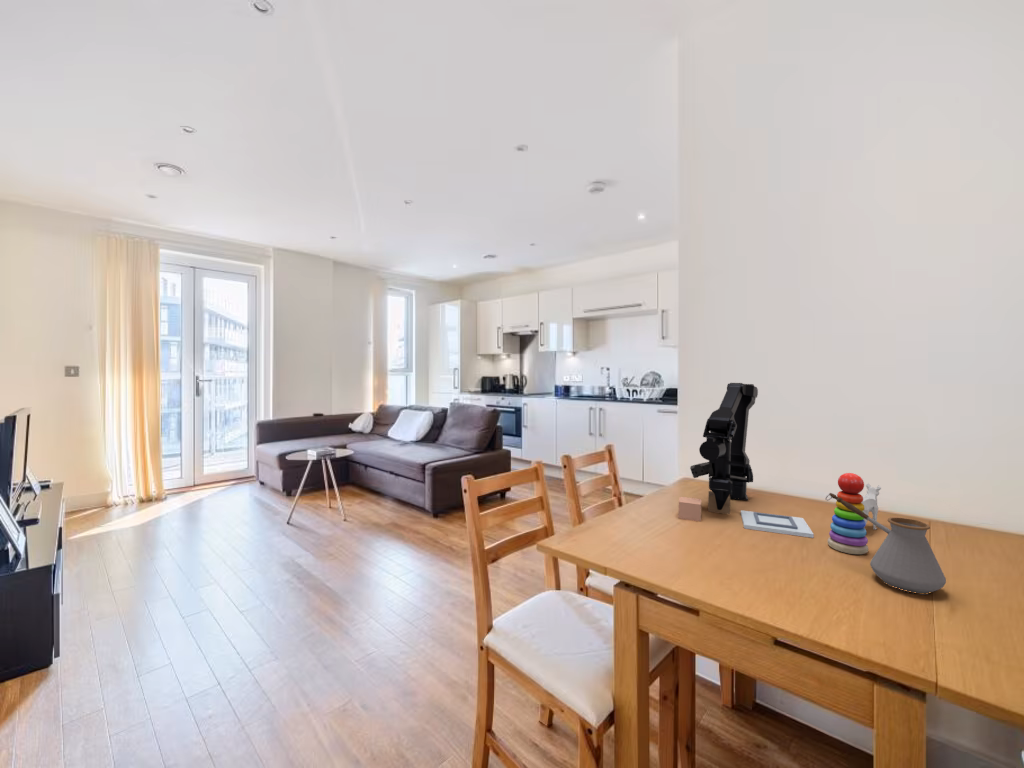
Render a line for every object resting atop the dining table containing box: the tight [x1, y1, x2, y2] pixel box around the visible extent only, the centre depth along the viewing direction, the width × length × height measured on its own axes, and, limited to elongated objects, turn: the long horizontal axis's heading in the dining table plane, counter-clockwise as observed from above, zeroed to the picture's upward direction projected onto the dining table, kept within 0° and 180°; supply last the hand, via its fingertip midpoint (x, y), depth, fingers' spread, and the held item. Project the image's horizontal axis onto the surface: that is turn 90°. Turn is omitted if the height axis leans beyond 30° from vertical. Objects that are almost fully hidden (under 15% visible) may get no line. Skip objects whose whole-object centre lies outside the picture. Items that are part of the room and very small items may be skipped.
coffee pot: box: [825, 492, 947, 593], centre depth 93 cm, size 21×12×15 cm, turn 23°
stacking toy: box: [827, 472, 869, 555], centre depth 107 cm, size 8×8×19 cm
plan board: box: [740, 510, 815, 539], centre depth 124 cm, size 14×16×2 cm
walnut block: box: [707, 490, 731, 515], centre depth 137 cm, size 6×6×5 cm
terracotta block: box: [677, 496, 702, 522], centre depth 130 cm, size 6×6×5 cm
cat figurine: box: [861, 482, 882, 531], centre depth 120 cm, size 4×20×14 cm, turn 124°
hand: (718, 505), depth 137 cm, fingers open, 9 cm apart
